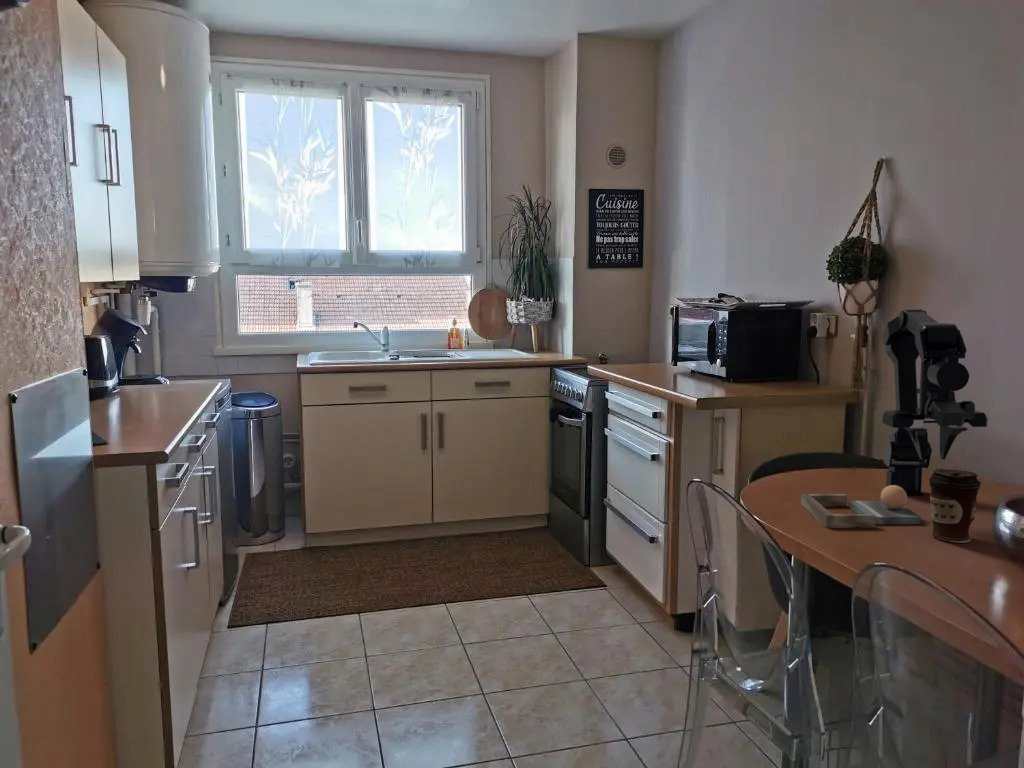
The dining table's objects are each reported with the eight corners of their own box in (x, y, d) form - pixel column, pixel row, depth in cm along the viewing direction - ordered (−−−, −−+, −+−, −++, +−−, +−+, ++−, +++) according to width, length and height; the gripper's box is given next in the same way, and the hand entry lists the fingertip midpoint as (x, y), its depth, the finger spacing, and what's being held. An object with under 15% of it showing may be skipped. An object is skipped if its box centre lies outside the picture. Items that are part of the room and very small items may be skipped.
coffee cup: (957, 548, 142) (961, 479, 140) (916, 536, 149) (918, 470, 148) (986, 540, 146) (990, 473, 144) (944, 529, 153) (947, 464, 152)
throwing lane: (891, 504, 171) (891, 493, 170) (926, 527, 154) (926, 515, 154) (801, 505, 172) (801, 494, 172) (826, 527, 156) (826, 515, 155)
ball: (900, 505, 165) (901, 482, 164) (910, 512, 160) (911, 488, 159) (876, 505, 165) (877, 482, 165) (886, 512, 160) (887, 488, 160)
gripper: (906, 390, 151) (903, 468, 153) (1005, 389, 150) (1000, 468, 152) (882, 383, 162) (880, 456, 164) (974, 382, 161) (970, 456, 163)
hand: (932, 459), depth 161 cm, fingers open, 4 cm apart
